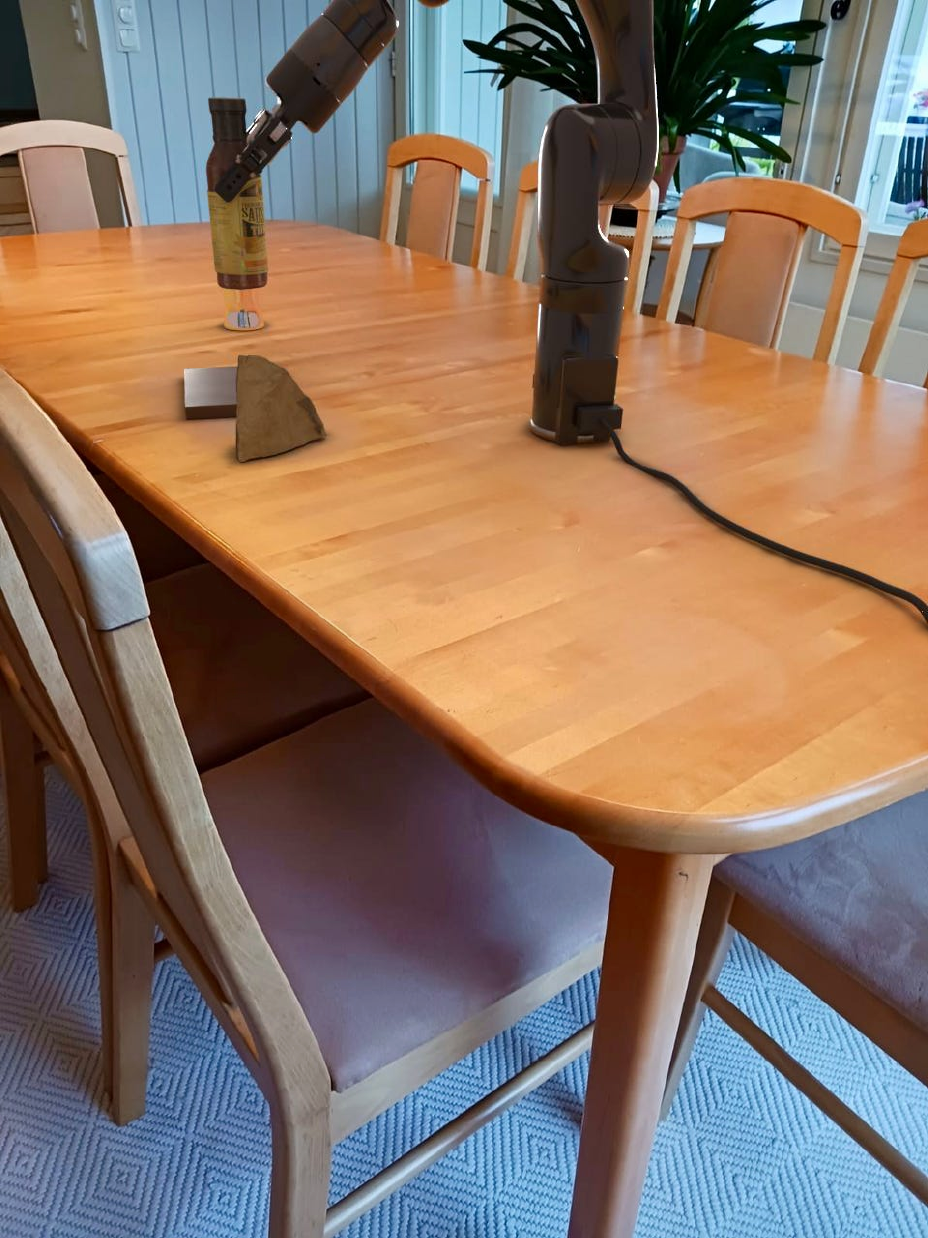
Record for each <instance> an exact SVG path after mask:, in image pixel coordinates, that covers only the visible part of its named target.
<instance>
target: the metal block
mask: <svg viewBox="0 0 928 1238" xmlns="http://www.w3.org/2000/svg"><path fill="white" fill-rule="evenodd" d="M183 369H184V371H183V372H184V373H183V375H184V377H183V378H184V412H185V413H184V414H185V419H186V420H200V419H201V420H203V419H217V418H219V419H220V418H221V419H222V418H237V416H236V408H237V402H236V397H237V393H236V373H237V366H219V367H215V366H214V367H197V368H196V367H195V368H194V367H193V368H183Z"/></svg>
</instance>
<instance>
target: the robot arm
mask: <svg viewBox="0 0 928 1238" xmlns="http://www.w3.org/2000/svg"><path fill="white" fill-rule="evenodd" d="M416 1H417V2H418V3H419V4H421V5H422V6H423V7H425V8H428V9H436V8H440V7H442V6H445V5H446V4H448V3H449V2H450V1H451V0H416ZM575 3H576V5H577V8H578V9H579V12H580V14H581V17H582V18H583V20H584V23H585V25H586V28H587V30H588V33H589V36H590V39H591V40H590V41H591V43H592V46H593V50H594V56H595V57H594V58H595V64H596V75H597V76H596V77H597V79H596V80H597V103H571V104H565V105H563V106H560V107H559V108H557V109H555V110H554V111H553V112H552V113H551V115H550V116H549V118H548V119H547V121H546V123H545V126H544V128H543V131H542V133H541V137H540V143H539V149H538V156H537V157H538V158H537V177H536V179H537V183H536V184H537V188H536V189H537V196H536V197H537V198H536V200H537V203H536V204H537V206H536V207H537V209H536V239H537V246H538V249H539V254H540V279H539V296H538V297H539V298H538V309H537V310H538V311H537V325H536V326H537V327H536V339H535V340H536V342H535V358H534V371H533V372H534V373H533V374H532V407H531V417H530V423H529V424H530V425H529V428H530V431H531V432H532V433H533V434H534V435H536V436H538V437H540V438H542V439H545V440H549V441H553V442H554V443H556V444H557V445H561V446H562V445H576V444H591V443H604V442H610V441H612V442H613V446H614V448H615V451H616V453H617V455H618V456H619V457H620V458H621V459H622V460H623V462H625V463H626V464H628V465H629V466H631V467H634V468H635V469H638V470H640V471H642V472H644V473H646V474H648V475H649V476H652V477H654V478H658V479H661V480H663V481H665V482H667V483H670V484H671V485H672V486H674V487H675V488H676V489H678V490H679V491H680V492H681V493H682V494H683V495H684V496H685V497H686V498H687V499H688V500H689V501H690V503H691V504H692V505H693V506H695V507H696V509H698V510H699V511H701V512H702V513H703V514H704V515H705V516H707V517H709V518H710V519H712V520H713V521H714V522H716V523H718V524H719V525H721V526H723V527H725V528H726V529H728V530H730V531H732V532H734V533H736V534H738V535H740V536H742V537H744V538H745V539H748V540H750V541H753V542H755V543H757V544H759V545H761V546H764V547H766V548H768V549H770V550H773V551H775V552H776V553H777V552H778V553H780V554H782V555H784V556H786V557H789V558H792V559H795V560H797V561H801V562H803V563H807V564H809V565H813V566H816V567H819V568H822V569H826V570H829V571H831V572H834V573H838V574H841V575H844V576H846V577H848V578H851V579H854V580H857V581H859V582H862V583H864V584H866V585H868V586H871V587H872V588H874V589H877V590H879V591H881V592H884V593H886V594H888V595H891V596H894V597H896V598H898V599H901V600H904V601H906V602H908V603H909V604H911V605H913V606H914V608H916V609H917V610H918V611H919V613H920V614H921V615H922V617H923V619H924V620H925V622H926V624H927V625H928V604H927V603H926V602H925V601H924V600H923V599H921V598H920V597H918V596H917V595H915V594H914V593H912V592H910V591H908V590H906V589H903V588H900V587H897V586H895V585H892V584H889V583H887V582H885V581H883V580H880V579H878V578H876V577H873V576H872V575H870V574H867V573H865V572H863V571H860V570H858V569H854V568H852V567H850V566H846V565H843V564H839V563H836V562H834V561H831V560H827V559H824V558H820V557H817V556H814V555H812V554H808V553H806V552H802V551H800V550H797V549H794V548H791V547H789V546H787V545H783V544H782V543H780V542H777V541H775V540H772V539H770V538H767V537H765V536H763V535H760V534H758V533H756V532H754V531H751V530H749V529H747V528H745V527H743V526H741V525H740V524H737V523H736V522H733V521H732V520H730V519H728V518H726V517H724V516H722V515H721V514H720V513H718V512H716V511H715V510H713V509H711V508H710V507H709V506H707V505H706V504H705V503H703V502H702V501H701V500H700V499H699V498H698V497H697V496H696V495H695V493H693V492H692V490H691V489H690V488H689V487H688V486H686V485H685V484H684V483H683V482H682V481H680V480H678V479H677V478H676V477H674V476H672V475H671V474H669V473H667V472H664V471H662V470H659V469H654V468H651V467H649V466H645V465H642V464H640V463H638V462H637V461H636V460H634V459H632V457H630V456H629V455H628V454H627V452H625V449H624V448H623V446H622V442H621V440H620V438H619V435H618V434H617V433H616V431H615V430H621V429H622V424H623V423H622V422H623V414H624V408H622V407H621V406H620V405H619V404H617V403H615V399H616V388H617V378H618V372H619V371H618V370H619V363H620V362H619V359H620V349H621V340H622V339H621V338H622V329H623V321H624V312H625V303H626V294H627V284H628V277H629V276H628V275H629V266H630V254H629V250H628V249H627V248H626V246H624V245H622V244H620V243H617V242H615V241H613V240H610V239H609V238H607V237H606V236H605V235H604V234H603V232H602V231H601V228H600V207H601V206H617V205H626V204H631V203H633V202H636V201H638V200H639V199H640V198H641V197H643V196H644V194H645V193H646V192H647V191H648V189H649V187H650V185H651V183H652V181H653V178H654V175H655V172H656V167H657V162H658V156H659V155H658V154H659V117H658V99H657V84H656V82H657V81H656V68H655V48H654V47H655V45H654V0H575ZM391 4H392V3H390V0H331V1H330V2H329V4H328V5H327V6H326V8H325V9H324V10H323V11H322V12H321V14H320V15H319V16H318V17H317V18H316V19H315V20H314V21H313V22H312V23H311V24H309V25H308V26H307V27H306V28H305V29H304V30H303V32H302V33H301V34H300V35H299V36H298V38H297V39H296V40H295V41H294V43H293V44H291V46H290V48H289V49H287V51H286V52H285V54H283V56H282V58H281V59H280V60H279V61H278V62H277V63H276V64H275V66H274V67H273V68H272V70H271V71H270V72H269V73H268V75H267V76H266V77H265V81H264V82H265V85H266V87H267V88H268V89H269V90H270V92H271V93H272V94H273V95H274V96H275V97H276V100H277V102H276V103H275V104H274V105H273V107H272V108H271V109H270V110H268V109H265V108H264V107H263V108H262V109H261V110H260V111H259V112H258V113H257V115H256V116H255V118H254V120H253V122H252V124H251V125H250V126H249V127H248V128H247V129H246V132H247V137H246V138H245V139H244V141H243V145H244V149H243V151H242V152H241V153H240V154H239V155H237V156H236V160H235V163H236V164H237V165H236V164H235V163H233V165H232V166H231V167H230V168H229V169H228V171H227V172H226V173H225V174H224V175H223V177H222V178H221V179H220V180H219V181H218V183H217V184H216V185H215V187H214V189H215V192H216V193H217V194H218V195H219V196H220V197H221V198H222V199H223V200H224V201H225V202H228V203H229V202H231V201H232V200H233V199H234V198H235V196H236V195H237V194H238V193H239V192H240V190H241V189H242V188H243V187H244V186H245V184H246V183H247V182H248V181H249V180H250V178H249V177H248V176H250V177H251V178H253V177H256V176H257V175H258V174H260V175H261V174H262V173H263V170H264V169H265V167H267V166H268V165H269V164H271V163H272V162H273V161H274V159H276V157H277V156H278V155H279V153H280V152H281V150H283V149H285V148H286V147H287V146H288V145H289V144H290V142H291V141H292V139H293V134H294V132H292V129H293V127H294V126H295V125H296V124H297V122H300V123H301V124H302V126H303V127H305V129H306V130H308V131H309V132H310V133H312V134H317V133H319V132H320V130H322V128H323V127H324V126H325V125H326V123H327V122H328V121H330V119H331V118H332V116H333V115H334V114H335V113H336V112H337V111H338V109H340V107H341V106H342V104H343V103H344V102H345V101H346V100H347V98H348V97H349V96H350V95H351V94H352V93H353V91H354V90H355V89H356V87H358V85H359V83H360V82H361V80H363V79H362V78H363V77H364V75H365V74H366V72H367V71H368V70H369V68H370V67H371V66H372V65H373V64H374V62H375V61H376V60H377V59H378V57H380V56H381V54H382V53H383V52H384V51H385V49H386V48H387V47H388V46H389V45H390V44H391V42H392V41H393V40H394V39H395V37H396V36H397V34H398V32H399V31H400V29H399V28H400V21H399V17H398V15H397V13H396V11H395V9H394V7H393V6H392V5H391ZM250 153H252V154H253V156H252V155H251V154H250ZM922 611H923V612H922Z"/></svg>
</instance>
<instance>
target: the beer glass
mask: <svg viewBox="0 0 928 1238" xmlns="http://www.w3.org/2000/svg"><path fill="white" fill-rule="evenodd" d="M220 288H221V291H222V295H223V301H224V319H223V321H224V323H223V326H224V328H225V329H227V330H229V331H238V332H239V331H241V332H246V331H254V330H255V331H256V330H260V329H262V328H263V327H265V323H264V317H263V315H262V311H261V305H260V304H261V303H260V290H261V288H256V289H245V290H235V289H225V288H222V287H220Z"/></svg>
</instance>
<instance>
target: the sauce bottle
mask: <svg viewBox="0 0 928 1238" xmlns="http://www.w3.org/2000/svg"><path fill="white" fill-rule="evenodd" d="M246 103H247V102H246V98H244V97H225V96H224V97H223V96H221V97H217V96H215V97H214V96H213V97H208V98H207V104H208V111H209V113H210V116H211V126H212V141H213V146H212V148H211V150H210V152H209V154H208V157H207V160H206V163H205V175H206V183H207V184H206V185H207V190H206V197H207V205H208V206H207V207H208V217H209V225H210V235H211V245H212V246H211V247H212V248H211V249H212V257H213V267H214V271H215V273H216V281H217V286H219V287H220V288H221V287H222V288H225V289H235V290H245V289H256V288H260V289H261V288H264V287H266V285H268V279H269V278H268V272H269V261H268V260H269V259H268V247H267V235H266V234H267V233H266V221H265V207H264V194H263V192H264V191H263V180H262V175H261V174H258V175H257V176H256V177H253V178H251V177H250V176H248V177H249V178H250V180H249V181H248V182H247V183H246V184H245V186H244V187H243V188H242V189H241V190H240V192H239V193H238V194H237V195H236V196H235V198H234V199H233V200H232V201H231V202H229V203H228V202H225V201H224V200H223V199H222V198H221V197H220V196H219V195H218V194H217V193H216V192H215V189H214V187H215V185H216V184H217V183H218V181H219V180H220V179H221V178H222V177H223V175H224V174H225V173H226V172H227V171H228V169H229V168H230V167H231V166H232V165H233V163H235V160H236V156H237V155H239V154H240V153H241V152H242V151H243V149H244V145H243V141H244V139H245V138H246V137H247V132H246V131H247V121H246V114H247V112H248V111H247V104H246ZM250 154H251V155H252V156H253V154H252V153H250ZM235 164H236V163H235ZM236 165H237V164H236ZM222 288H221V289H222Z"/></svg>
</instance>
